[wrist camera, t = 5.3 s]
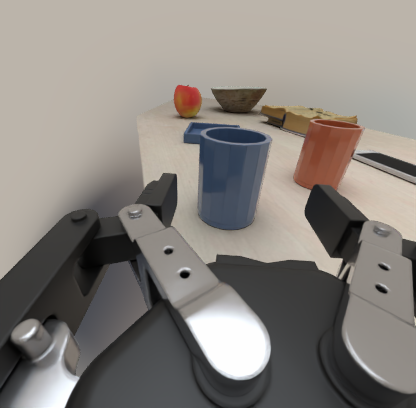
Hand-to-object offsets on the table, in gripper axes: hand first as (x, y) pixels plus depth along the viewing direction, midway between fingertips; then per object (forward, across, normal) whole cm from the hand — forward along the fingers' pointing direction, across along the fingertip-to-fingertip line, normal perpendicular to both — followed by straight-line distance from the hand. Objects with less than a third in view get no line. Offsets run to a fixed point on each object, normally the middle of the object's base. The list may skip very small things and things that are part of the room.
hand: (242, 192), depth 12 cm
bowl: (+91, -7, +7) cm, 92 cm away
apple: (+67, +12, +7) cm, 69 cm away
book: (+60, -26, +7) cm, 66 cm away
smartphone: (+28, -32, +7) cm, 43 cm away
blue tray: (+41, +2, +7) cm, 42 cm away
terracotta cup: (+18, -14, +7) cm, 24 cm away
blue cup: (+8, 0, +7) cm, 11 cm away
